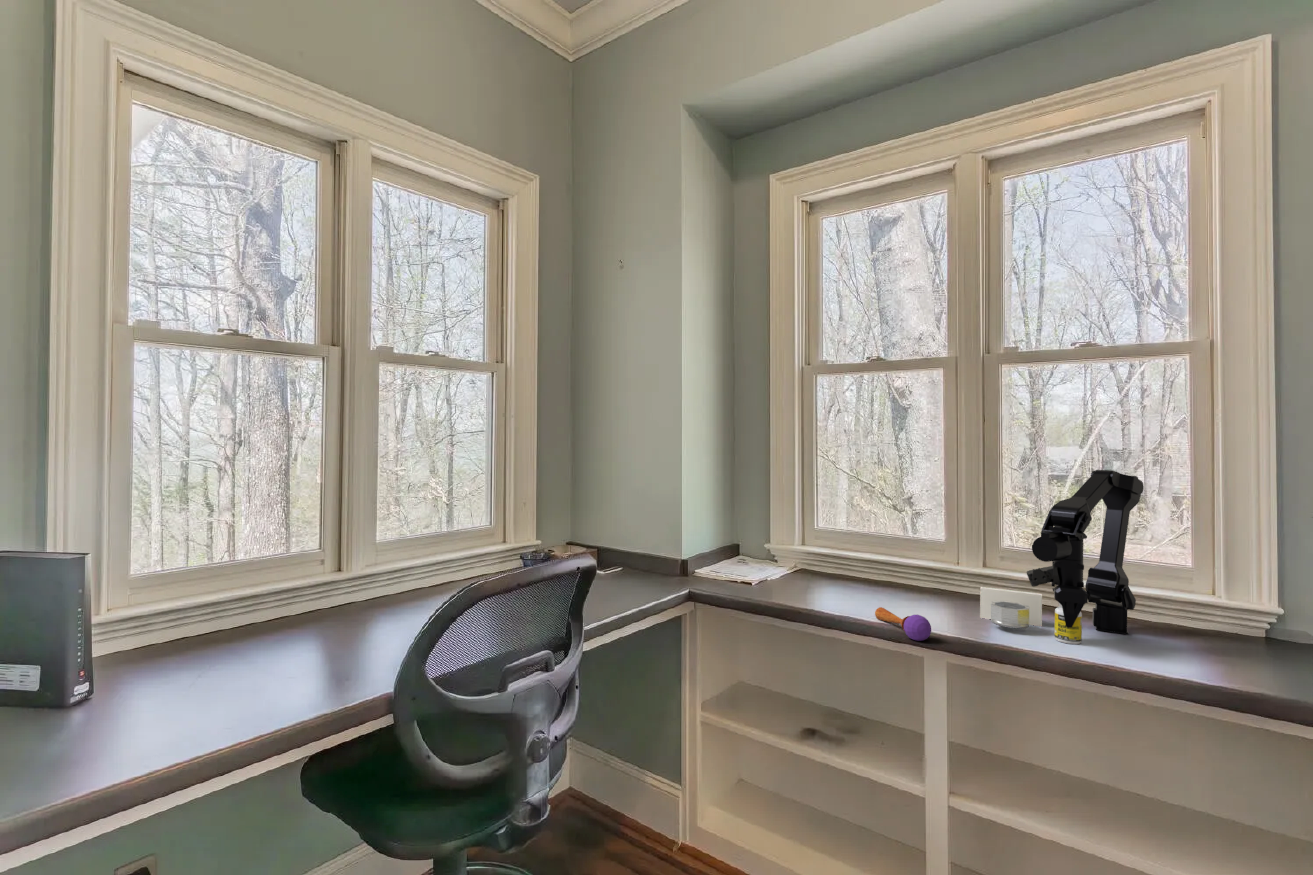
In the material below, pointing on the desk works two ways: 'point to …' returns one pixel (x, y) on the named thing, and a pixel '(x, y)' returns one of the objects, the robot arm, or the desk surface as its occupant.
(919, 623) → the purple maraca
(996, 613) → the cup bracket
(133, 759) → the desk surface
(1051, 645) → the desk surface
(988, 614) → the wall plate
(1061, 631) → the supplement bottle
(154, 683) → the desk surface
